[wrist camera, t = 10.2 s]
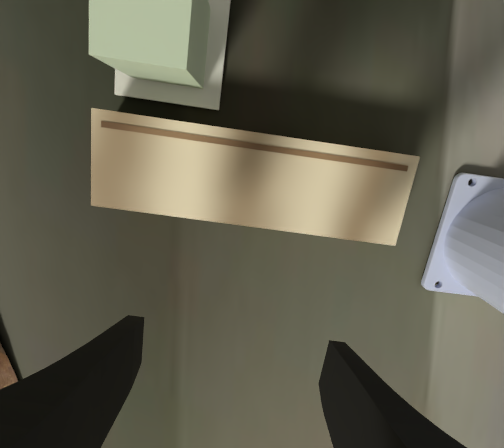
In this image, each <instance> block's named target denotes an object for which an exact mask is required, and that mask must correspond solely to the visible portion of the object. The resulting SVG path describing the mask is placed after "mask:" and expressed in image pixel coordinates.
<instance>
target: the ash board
mask: <svg viewBox="0 0 504 448" xmlns="http://www.w3.org/2000/svg"><path fill="white" fill-rule="evenodd" d="M419 159H420V157H419V156H412V155H406V154H399V153H392V152H385V151H379V150H372V149H365V148H358V147H352V146H345V145H338V144H331V143H325V142H318V141H311V140H304V139H298V138H291V137H284V136H277V135H271V134H264V133H257V132H250V131H243V130H237V129H230V128H223V127H216V126H210V125H203V124H196V123H189V122H183V121H176V120H169V119H162V118H156V117H149V116H142V115H135V114H129V113H122V112H115V111H108V110H102V109H95V108H91V205H92V206H99V207H107V208H114V209H122V210H129V211H137V212H144V213H152V214H159V215H167V216H175V217H182V218H190V219H197V220H205V221H212V222H220V223H227V224H235V225H242V226H250V227H258V228H265V229H273V230H280V231H288V232H295V233H303V234H310V235H318V236H325V237H333V238H340V239H348V240H356V241H363V242H371V243H378V244H386V245H393V246H395V245H396V241H397V237H398V234H399V230H400V227H401V223H402V219H403V216H404V212H405V209H406V205H407V202H408V198H409V194H410V191H411V187H412V184H413V180H414V177H415V173H416V169H417V166H418V162H419Z"/></svg>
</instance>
